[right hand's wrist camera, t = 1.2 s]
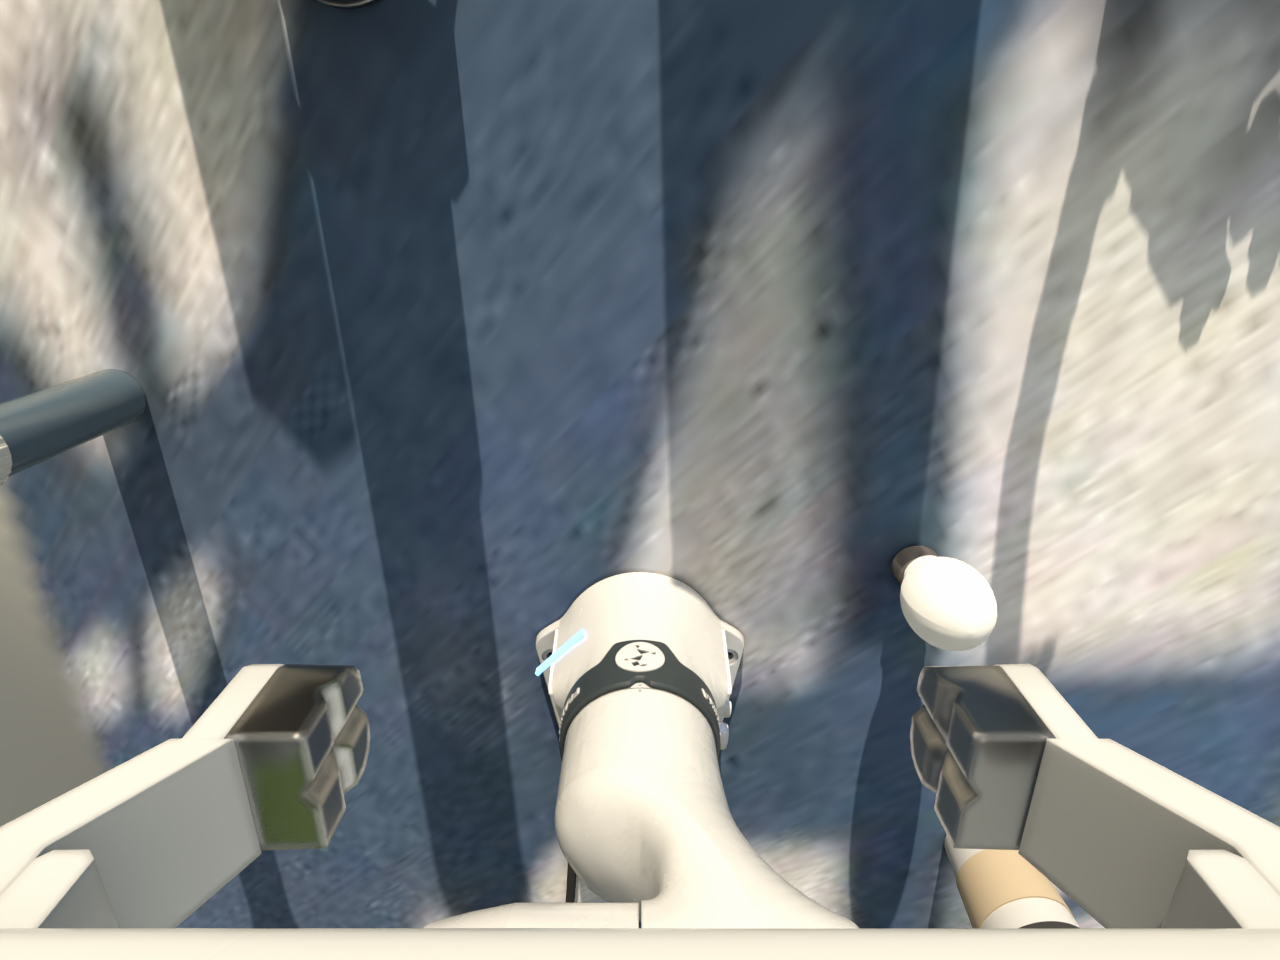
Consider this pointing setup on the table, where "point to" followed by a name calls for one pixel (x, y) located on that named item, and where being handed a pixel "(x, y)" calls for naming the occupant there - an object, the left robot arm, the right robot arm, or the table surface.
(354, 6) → the left robot arm
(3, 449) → the lid
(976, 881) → the coffee cup
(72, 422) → the dark grey cylinder
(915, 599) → the light bulb
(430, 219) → the table surface
